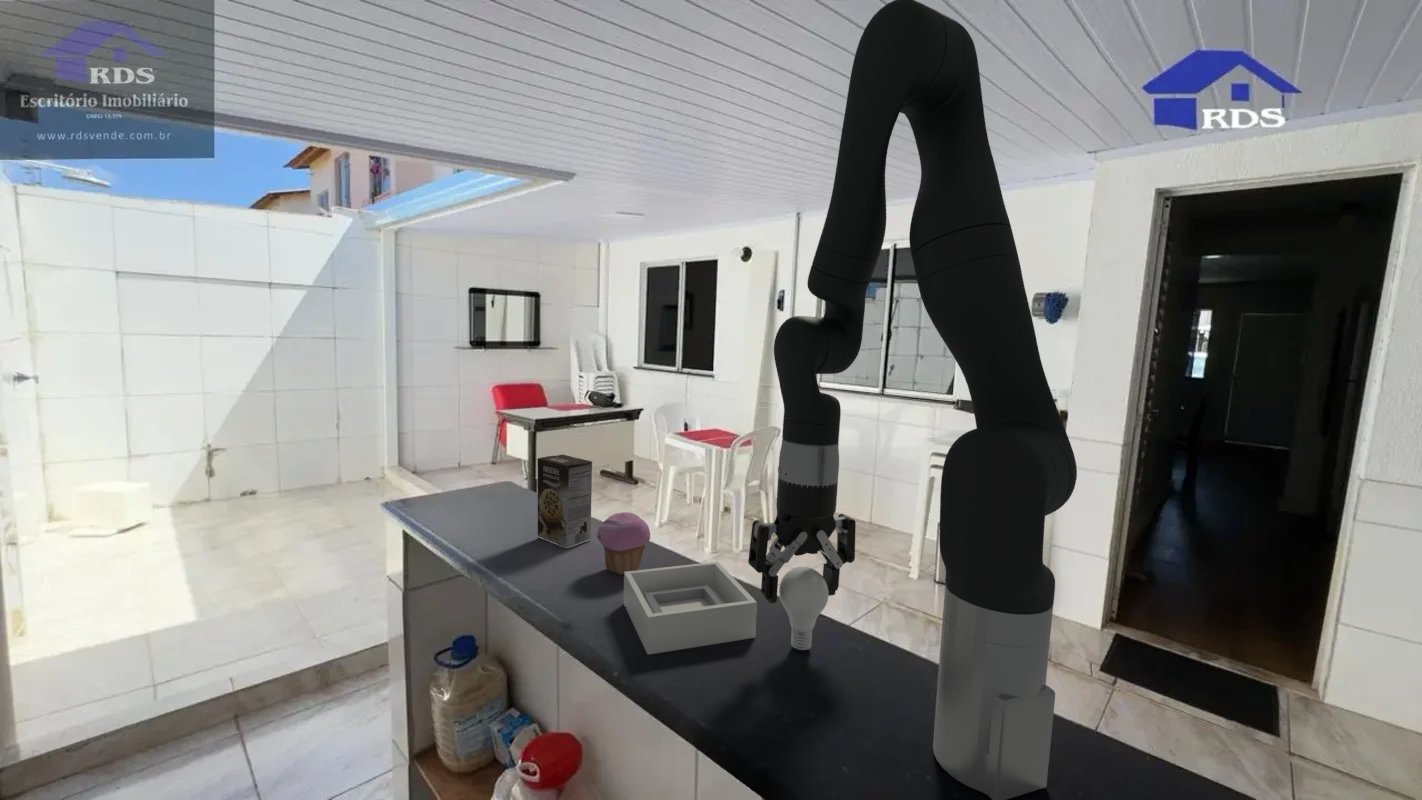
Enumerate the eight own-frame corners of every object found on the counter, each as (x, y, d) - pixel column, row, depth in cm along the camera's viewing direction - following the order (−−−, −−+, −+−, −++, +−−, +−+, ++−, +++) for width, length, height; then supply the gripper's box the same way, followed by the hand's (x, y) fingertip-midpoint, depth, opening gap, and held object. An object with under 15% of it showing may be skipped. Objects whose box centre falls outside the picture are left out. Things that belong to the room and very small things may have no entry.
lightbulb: (825, 665, 74) (829, 580, 73) (774, 658, 76) (778, 575, 74) (825, 640, 81) (830, 562, 79) (778, 634, 82) (782, 557, 81)
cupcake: (633, 557, 108) (634, 503, 107) (658, 573, 101) (660, 516, 100) (588, 568, 103) (588, 511, 102) (612, 585, 96) (613, 525, 95)
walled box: (755, 637, 81) (756, 602, 80) (647, 654, 76) (648, 617, 75) (717, 591, 95) (717, 561, 94) (623, 603, 90) (624, 571, 89)
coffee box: (535, 539, 116) (535, 457, 115) (562, 530, 122) (562, 453, 120) (566, 550, 111) (566, 465, 109) (592, 541, 116) (593, 459, 114)
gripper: (770, 486, 70) (762, 617, 72) (872, 480, 75) (863, 603, 77) (744, 470, 77) (738, 590, 79) (840, 466, 81) (832, 579, 84)
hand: (800, 596), depth 78 cm, fingers open, 8 cm apart
